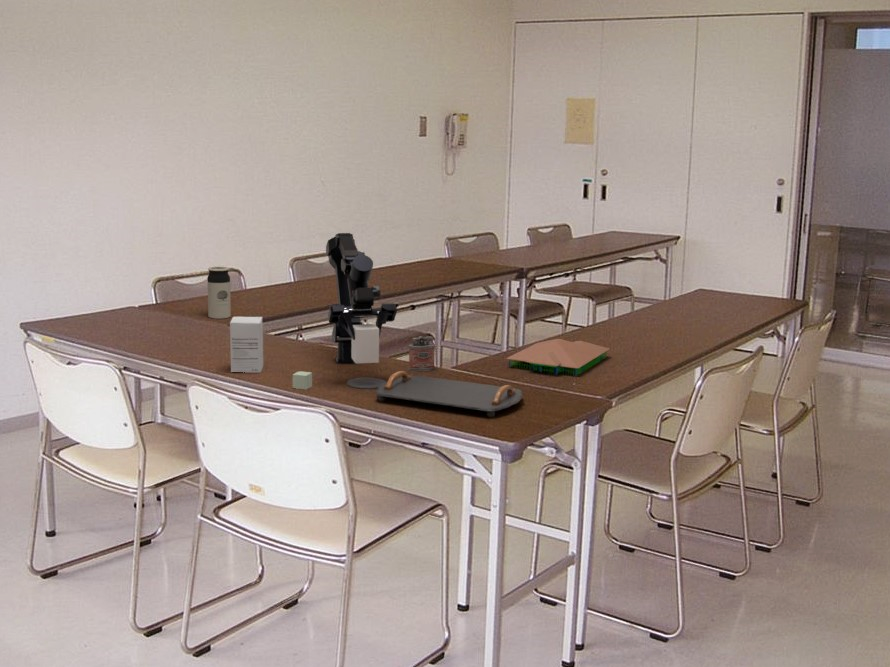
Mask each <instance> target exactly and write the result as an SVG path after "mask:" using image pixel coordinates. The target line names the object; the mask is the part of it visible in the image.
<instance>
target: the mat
mask: <svg viewBox="0 0 890 667" xmlns="http://www.w3.org/2000/svg"><path fill="white" fill-rule="evenodd" d="M386 382H387V380H384V379H383V378H377V377H356V378H355V377H354V378H351V379H349V380H347V382H346V385H347V386H348V387H350V388H353V389H360V390H363V389H364V390H365V389H366V390H371V389H372V390H373V389H378V388H379V387H380V386H381V385H382V384H384V383H386Z"/></svg>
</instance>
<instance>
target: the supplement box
mask: <svg viewBox="0 0 890 667" xmlns="http://www.w3.org/2000/svg"><path fill="white" fill-rule="evenodd" d="M263 326H264V325H263V316H232V318H231V320H230V322H229V335H230V336H229V342H230V343H229V344H230V349H229V350H230V373H231V372H243V373H244V372H245V373H246V374H247V373H253V374H255V373H258V374H259V373H262V372H263V368H264V336H263V334H264V332H263V331H264V328H263ZM243 373H242V374H243Z"/></svg>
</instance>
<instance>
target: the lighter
mask: <svg viewBox="0 0 890 667" xmlns="http://www.w3.org/2000/svg"><path fill="white" fill-rule="evenodd" d="M425 342H426V343H425ZM430 342H434V337H433V336H425V337H423V336H422V335H420V336H418V337H412V343H413V344H412V343H411V344H409V345H408V353H409V354H408V371H409V372H426V371H427V372H428V371H434V370H435V369H436V366H435V363H436V362H435V360H436V359H435V358H436V357H435V353H436V352H435V351H436V344H434V343H430Z"/></svg>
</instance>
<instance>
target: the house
mask: <svg viewBox="0 0 890 667" xmlns="http://www.w3.org/2000/svg"><path fill="white" fill-rule="evenodd" d="M609 350H610V348H608V347H605V346H602V345H597V344H594V343H591V342H587V341H583V340H576V341H569V340H566V339H561V338H556V339H555V338H554V339H549V340H545V341H541V342H540V341H539V342H536V343H534V344H532V345H530V346H528V347H526V348H524V349H522V350H520V351H518V352H516V353H514V354H512V355H510V356H508V357H505V359H506V360H509V362H508V368H511V367H512V365H513V363H515V362H519V363H523V362H524V363H527V364H523V366H524V367H523V368H524V369H523V370H526V368H525V366H526V367H529V371H530V370H531V368H533V372H535V371H538V370H541V371H546V369H545V368H546V367H549V369H548V372H549V373H548V374H550V373H551V372H553V369H551V368H555V372H563V374H562V375H564V372H565V371H567V372H568V373H567V374H568V376H569V373H572V372H574V369H575V371H576V373H577V374H574V376H575V378H576V377H577V376H579V375H580V374H582V373H584V372H585V370H588V369H590V368H591V367H592V366H594V365H596V364H597V363H600V362H601V361H602V360H603V359H605V358H607V352H608V351H609ZM519 363H516V365H513V366H514V369H515V368H516V366H518V365H519ZM528 363H529V365H530V366H528ZM542 367H544V369H543V368H542ZM520 368H521V365H519V370H520ZM569 369H570V370H569ZM554 375H555V376H557V373H554Z"/></svg>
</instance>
